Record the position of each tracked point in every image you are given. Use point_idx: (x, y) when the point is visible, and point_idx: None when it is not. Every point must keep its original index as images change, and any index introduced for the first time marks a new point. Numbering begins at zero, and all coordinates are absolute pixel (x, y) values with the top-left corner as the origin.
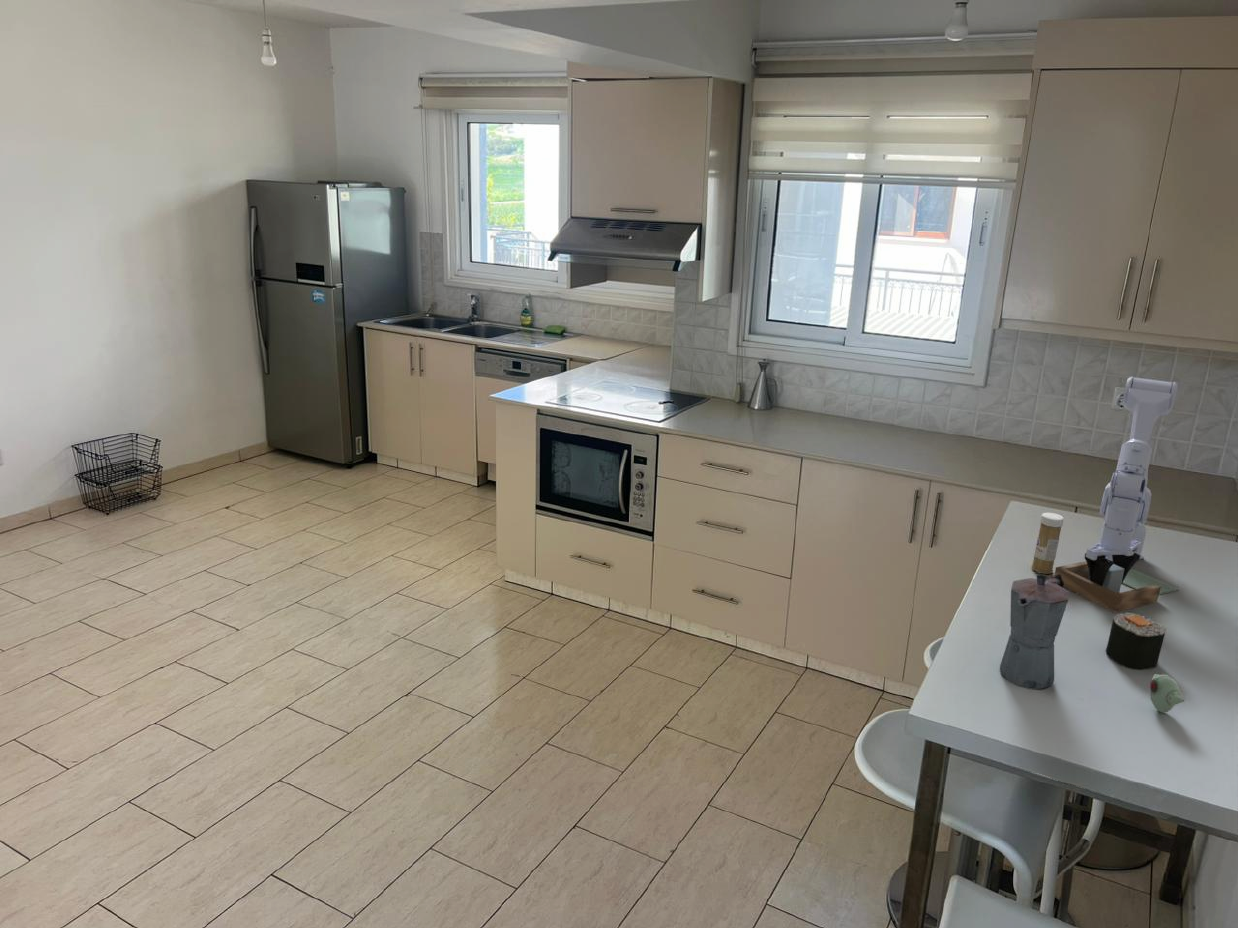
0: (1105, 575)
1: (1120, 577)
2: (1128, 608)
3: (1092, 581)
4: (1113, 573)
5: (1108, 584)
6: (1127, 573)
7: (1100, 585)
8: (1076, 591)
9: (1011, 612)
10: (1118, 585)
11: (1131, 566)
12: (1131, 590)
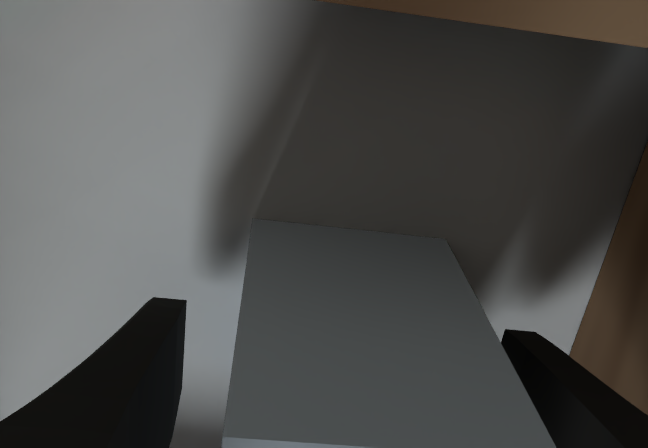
0: (626, 436)
1: (286, 340)
2: None
3: None
4: (492, 422)
5: (483, 322)
6: (82, 363)
7: (562, 351)
8: None
9: None
10: (293, 274)
11: (2, 437)
12: (539, 20)
